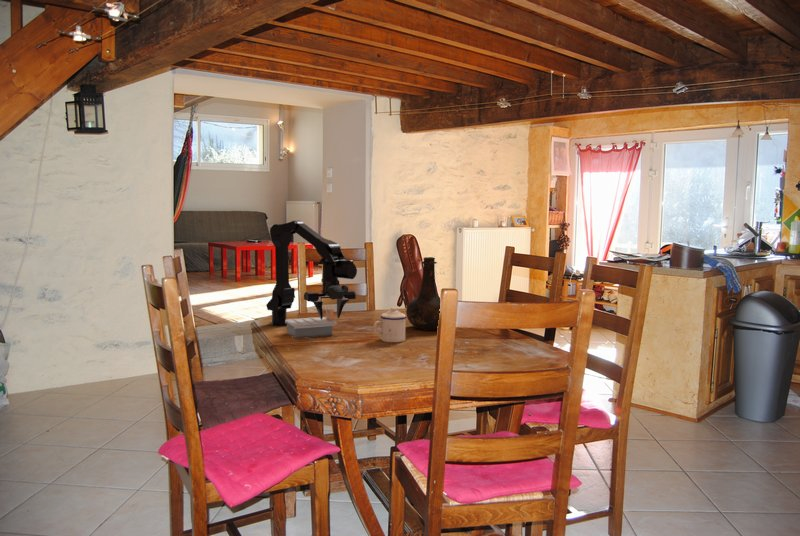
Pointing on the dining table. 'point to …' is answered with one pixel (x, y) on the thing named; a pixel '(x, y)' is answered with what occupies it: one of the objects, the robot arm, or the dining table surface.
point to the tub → (309, 331)
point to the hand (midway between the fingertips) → (329, 318)
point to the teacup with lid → (392, 326)
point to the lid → (314, 321)
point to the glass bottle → (425, 300)
